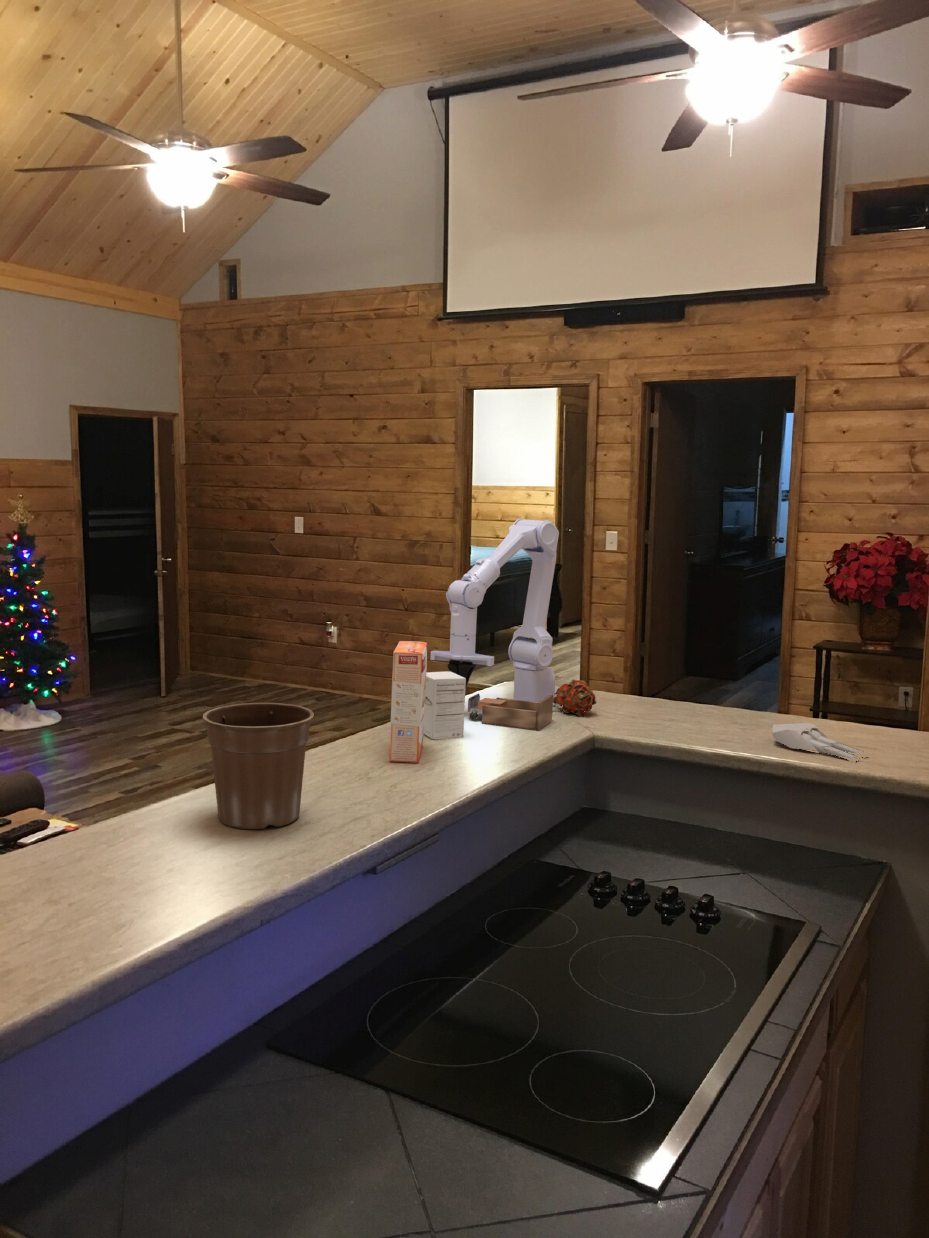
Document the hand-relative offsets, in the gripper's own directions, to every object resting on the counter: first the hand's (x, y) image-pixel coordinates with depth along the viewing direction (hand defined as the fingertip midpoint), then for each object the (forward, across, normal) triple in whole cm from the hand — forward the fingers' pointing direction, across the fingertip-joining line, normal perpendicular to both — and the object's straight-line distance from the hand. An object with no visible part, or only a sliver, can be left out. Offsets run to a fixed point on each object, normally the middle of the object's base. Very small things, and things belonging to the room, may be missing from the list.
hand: (460, 694), depth 225 cm
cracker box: (+5, +3, -35) cm, 36 cm away
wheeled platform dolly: (+5, +7, 0) cm, 8 cm away
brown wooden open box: (+5, +14, 0) cm, 14 cm away
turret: (+5, +76, +8) cm, 76 cm away
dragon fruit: (+5, +22, +16) cm, 28 cm away
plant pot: (+6, -2, -80) cm, 80 cm away
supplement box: (+5, +3, -18) cm, 19 cm away
